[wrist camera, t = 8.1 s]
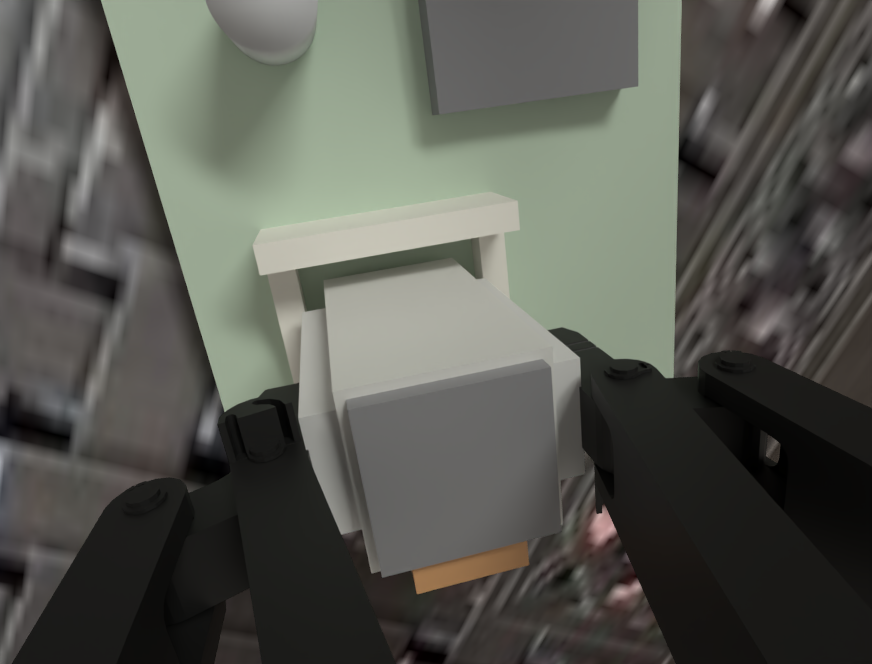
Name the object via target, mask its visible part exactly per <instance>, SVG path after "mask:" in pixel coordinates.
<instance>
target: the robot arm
mask: <svg viewBox="0 0 872 664" xmlns="http://www.w3.org/2000/svg"><path fill="white" fill-rule="evenodd" d="M477 280H478V281H479V282H480V283H481V284H482V285H483V286H485V287H486V288H487V289H488V290H489V291H490V292H491V293H492V294H494V295H495V296H496V297H497V298H498V299H499V300H500V301H501V302H503V303H504V304H505V305H506V306H507V307H508V308H509V309H510V310H512V311H513V312H514V313H515V314H516V315H517V316H518V317H519V318H521V319H522V320H523V321H524V322H525V323H526V324H527V325H529V326H530V327H531V328H532V329H533V330H534V331H535V332H536V333H538V334H539V335H540V336H541V337H542V338H543V339H544V340H545V341H547V342H548V343H549V344H550V345H551V346H552V349H553V366H554V382H555V399H556V415H557V432H558V448H559V465H560V480H563V479H567V478H572V477H576V476H580V475H584V474H585V458H584V450H585V451H586V453H587V454H588V455H589V456H590V457H591V458H592V460H593V461H594V470H595V496H596V512H597V514H599V513H602V505H603V504H605V506H606V508H607V510H608V513H609V515H610V517H611V519H612V521H613V524H614V526H615V528H616V530H617V533H618V535H619V537H620V539H621V542H622V544H623V546H624V548H625V551H626V553H627V555H628V557H629V560H630V562H631V564H632V566H633V569H634V571H635V573H636V575H637V578H638V580H639V582H640V584H641V587H642V589H643V591H644V593H645V595H646V598H647V600H648V602H649V604H650V607H651V609H652V611H653V613H654V616H655V618H656V620H657V622H658V625H659V627H660V629H661V631H662V634H663V636H664V638H665V640H666V643H667V645H668V647H669V649H670V652H671V654H672V656H673V658H674V660H675V663H676V664H872V408H870V407H868V406H865V405H863V404H861V403H859V402H857V401H855V400H853V399H850V398H848V397H846V396H844V395H842V394H840V393H838V392H835V391H833V390H831V389H829V388H827V387H825V386H822V385H820V384H818V383H816V382H814V381H812V380H810V379H807V378H805V377H803V376H801V375H799V374H797V373H795V372H792V371H790V370H788V369H786V368H784V367H782V366H780V365H777V364H775V363H773V362H771V361H769V360H767V359H765V358H762V357H759V356H756V355H753V354H748V353H742V352H741V351H732V352H730V350H729V351H721V352H718V353H711V354H709V355H706V356H704V357H702V358H701V359H700V360H699V361H698V377H683V378H665V377H664V376H663V375H662V374H661V373H660V372H659V370H658V369H657V368H656V367H654V366H653V365H651V364H650V363H647V362H644V361H640V360H634V359H613V358H612V357H611V356H609V355H608V354H607V353H605V352H604V351H603V350H601V349H600V348H599V347H596V345H595V344H593V343H592V342H591V341H588V339H587V338H585V337H584V336H583V335H581V334H580V333H578V332H576V331H573V330H569V329H566V328H563V327H560V328H556V329H551V330H546V329H545V328H544V327H543V326H542V325H540V324H539V323H538V322H537V321H536V320H534V319H533V318H532V317H531V316H530V315H528V314H527V313H526V312H525V311H524V310H522V309H521V308H520V307H519V306H518V305H516V304H515V303H514V302H513V301H512V300H510V299H509V298H508V297H507V296H506V295H504V294H503V293H502V292H501V291H500V290H498V289H497V288H496V287H495V286H494V285H492V284H491V283H490V282H489V281H488V280H486V279H485V278H483V279H477ZM217 425H218V428H219V431H220V435H221V438H222V441H223V444H224V448H225V451H226V454H227V457H228V461H229V464H230V470H231V472H230V473H229V474H228V475H226V476H225V477H223V478H221V479H220V480H218V481H216V482H214V483H212V484H210V485H207V486H205V487H202V488H200V489H198V490H195V491H193V492H190V493H188V490H187V487H186V485H185V484H184V483H183V482H182V481H181V480H180V479H175V478H160V479H154V480H151V481H148V482H147V481H145V482H142V483H139V484H137V485H136V486H135V487H134V486H132V487H130V488H129V489H127V490H125V492H123V493H122V494H120V495H119V496H118V497H116V498H115V499H113V500H112V501H111V502H110V504H109V505H108V506H107V507H106V508H105V509H104V511H103V512H102V514H101V516H100V517H99V519H98V521H97V523H96V524H95V526H94V528H93V529H92V531H91V533H90V534H89V536H88V538H87V539H86V541H85V543H84V544H83V546H82V548H81V549H80V551H79V553H78V554H77V556H76V558H75V559H74V561H73V563H72V564H71V566H70V568H69V569H68V571H67V573H66V574H65V576H64V578H63V579H62V581H61V583H60V584H59V586H58V588H57V589H56V591H55V593H54V594H53V596H52V598H51V599H50V601H49V603H48V604H47V606H46V608H45V609H44V611H43V613H42V614H41V616H40V618H39V619H38V621H37V623H36V624H35V626H34V628H33V629H32V631H31V633H30V634H29V636H28V638H27V639H26V641H25V643H24V644H23V646H22V648H21V649H20V651H19V653H18V654H17V656H16V658H15V659H14V661H13V663H12V664H214V661H215V657H216V652H217V648H218V643H219V639H220V634H221V630H222V625H223V621H224V616H225V612H226V600H227V599H229V598H231V597H233V596H234V595H236V594H238V593H240V592H242V591H244V590H246V589H248V588H250V592H251V599H252V605H253V611H254V617H255V623H256V629H257V635H258V642H259V648H260V654H261V660H262V664H396V663H395V661H394V658H393V656H392V654H391V651H390V649H389V646H388V644H387V642H386V639H385V637H384V635H383V632H382V630H381V628H380V625H379V623H378V620H377V618H376V616H375V613H374V611H373V609H372V606H371V604H370V602H369V599H368V597H367V595H366V592H365V590H364V587H363V585H362V583H361V580H360V578H359V576H358V573H357V571H356V569H355V566H354V564H353V561H352V559H351V557H350V554H349V552H348V550H347V547H346V545H345V543H344V540H343V538H342V534H346V533H350V532H354V531H358V530H362V527H361V523H360V518H359V513H358V509H357V504H356V499H355V495H354V490H353V486H352V481H351V476H350V472H349V467H348V462H347V458H346V453H345V448H344V444H343V439H342V435H341V430H340V425H339V421H338V416H337V411H336V407H335V402H334V397H333V393H332V382H331V369H330V357H329V344H328V331H327V319H326V308H323V309H317V310H312V311H307V312H302V329H301V356H300V382H299V383H296V384H291V385H286V386H281V387H276V388H271V389H267V390H265V391H264V392H263V393H262V394H261V395H260V396H259V397H258V398H254V399H250V400H247V401H245V402H242V403H239V404H237V405H235V406H234V407H232V408H230V409H228V410H227V411H226V412H225V413H224V414H223V415H222V416H221V417H220V418H219V421H218V424H217ZM768 435H770V436H772V437H773V438H775V439H776V440H777V441H778V442H779V443H780V444H781V447H780V457H779V461H778V463H776V462H774V461H772V460H771V459H769V458H768V457H766V448H767V436H768Z"/></svg>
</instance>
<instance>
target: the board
mask: <svg viewBox="0 0 872 664" xmlns="http://www.w3.org/2000/svg"><path fill="white" fill-rule="evenodd" d="M101 2H102V5H103V9H104V12H105V15H106V19H107V22H108V25H109V29H110V32H111V35H112V39H113V42H114V45H115V49H116V52H117V55H118V59H119V62H120V65H121V69H122V72H123V75H124V79H125V82H126V85H127V89H128V92H129V95H130V99H131V102H132V105H133V109H134V112H135V115H136V119H137V122H138V125H139V129H140V132H141V135H142V139H143V142H144V145H145V148H146V152H147V155H148V158H149V162H150V165H151V168H152V172H153V175H154V178H155V182H156V185H157V188H158V192H159V195H160V198H161V202H162V205H163V208H164V212H165V215H166V218H167V222H168V225H169V228H170V232H171V235H172V238H173V242H174V245H175V248H176V252H177V255H178V258H179V262H180V265H181V268H182V272H183V275H184V278H185V282H186V285H187V288H188V292H189V295H190V298H191V302H192V305H193V308H194V312H195V315H196V318H197V321H198V325H199V328H200V331H201V335H202V338H203V341H204V345H205V348H206V351H207V355H208V358H209V361H210V365H211V368H212V371H213V375H214V378H215V381H216V385H217V388H218V391H219V395H220V398H221V401H222V405H223V408H224V411H225V412H226V411H227V410H228V409H230V408H232V407H234V406H235V405H237V404H239V403H242V402H245V401H247V400H250V399H254V398H258V397H259V396H260V395H261V394H262V393H263V392H264V391H265V390H267V389H271V388H276V387H281V386H286V385H291V384H296V383H299V382H300V356H301V329H302V312H307V311H312V310H317V309H323V308H326V306H325V294H324V281H323V280H327V279H333V278H338V277H344V276H350V275H355V274H361V273H367V272H372V271H378V270H384V269H390V268H395V267H401V266H407V265H412V264H418V263H424V262H429V261H435V260H441V259H446V258H453V259H454V260H455V261H456V262H457V263H459V264H460V265H461V266H462V267H463V268H464V269H465V270H466V271H468V272H469V273H470V274H471V275H472V276H473V277H474V278H475V279H483V278H485V279H486V280H488V281H489V282H490V283H491V284H492V285H494V286H495V287H496V288H497V289H498V290H500V291H501V292H502V293H503V294H504V295H506V296H507V297H508V298H509V299H510V300H512V301H513V302H514V303H515V304H516V305H518V306H519V307H520V308H521V309H522V310H524V311H525V312H526V313H527V314H528V315H530V316H531V317H532V318H533V319H534V320H536V321H537V322H538V323H539V324H540V325H542V326H543V327H544V328H545V329H546V330H551V329H556V328H560V327H563V328H566V329H569V330H573V331H576V332H578V333H580V334H581V335H583V336H584V337H585V338H587V339H588V341H591V342H592V343H593V344H595V345H596V347H599V348H600V349H601V350H603V351H604V352H605V353H607V354H608V355H609V356H611V357H612V358H613V359H634V360H640V361H644V362H647V363H650V364H651V365H653V366H654V367H656V368H657V369H658V370H659V372H660V373H661V374H662V375H663V376H664V377H665V378H674V333H675V287H676V240H677V194H678V148H679V101H680V55H681V8H682V0H101Z"/></svg>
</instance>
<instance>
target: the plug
mask: <svg viewBox="0 0 872 664" xmlns="http://www.w3.org/2000/svg"><path fill="white" fill-rule="evenodd" d="M323 281H324V294H325V306H326V319H327V331H328V344H329V357H330V369H331V382H332V393H333V397H334V402H335V407H336V411H337V416H338V421H339V425H340V430H341V435H342V439H343V444H344V448H345V453H346V458H347V462H348V467H349V472H350V476H351V481H352V486H353V490H354V495H355V499H356V504H357V509H358V513H359V518H360V523H361V527H362V532H363V537H364V541H365V546H366V551H367V555H368V560H369V564H370V569H371V574H372V573H376V572H380V571H381V574H382V578H384V577H387V576H391V575H395V574H399V573H403V572H407V571H411V570H412V575H413V579H414V583H415V588H416V592H417V594H420V593H424V592H428V591H432V590H435V589H439V588H443V587H447V586H451V585H454V584H458V583H462V582H466V581H470V580H474V579H477V578H481V577H485V576H489V575H493V574H496V573H500V572H504V571H508V570H512V569H515V568H519V567H523V566H527V565H529V558H528V547H527V541H528V540H532V539H536V538H540V537H544V536H548V535H551V534H555V533H559V532H561V525H563V514H562V498H561V481H560V465H559V448H558V432H557V415H556V399H555V382H554V366H553V349H552V346H551V345H550V344H549V343H548V342H547V341H545V340H544V339H543V338H542V337H541V336H540V335H539V334H538V333H536V332H535V331H534V330H533V329H532V328H531V327H530V326H529V325H527V324H526V323H525V322H524V321H523V320H522V319H521V318H519V317H518V316H517V315H516V314H515V313H514V312H513V311H512V310H510V309H509V308H508V307H507V306H506V305H505V304H504V303H503V302H501V301H500V300H499V299H498V298H497V297H496V296H495V295H494V294H492V293H491V292H490V291H489V290H488V289H487V288H486V287H485V286H483V285H482V284H481V283H480V282H479V281H478V280H477V279H475V278H474V277H473V276H472V275H471V274H470V273H469V272H468V271H466V270H465V269H464V268H463V267H462V266H461V265H460V264H459V263H457V262H456V261H455V260H454V259H453V258H446V259H441V260H435V261H429V262H424V263H418V264H412V265H407V266H401V267H395V268H390V269H384V270H378V271H372V272H367V273H361V274H355V275H350V276H344V277H338V278H333V279H327V280H323Z"/></svg>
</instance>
